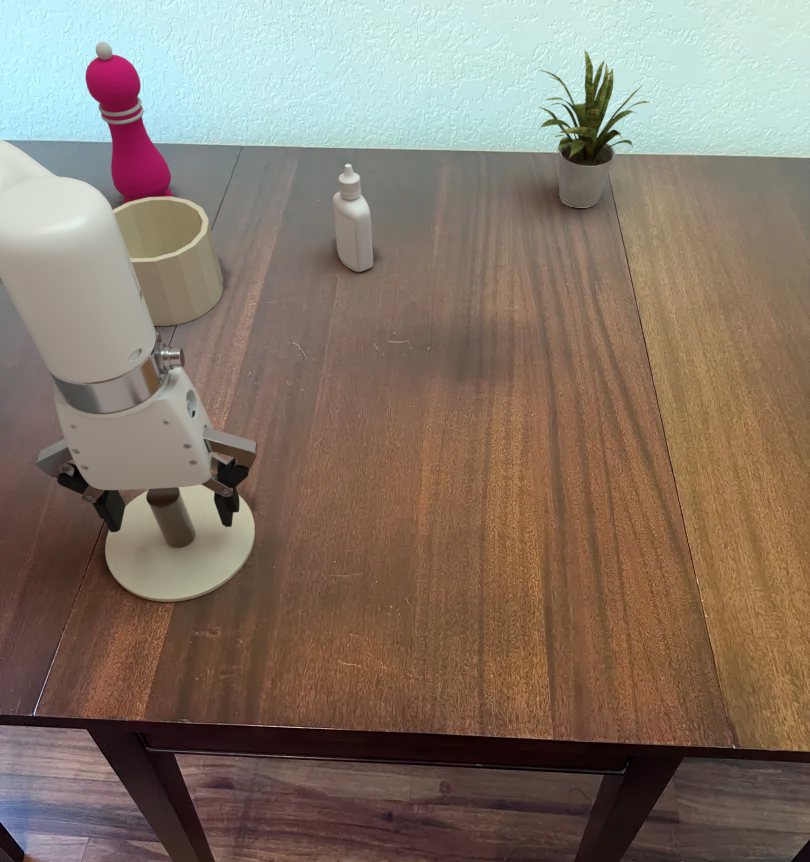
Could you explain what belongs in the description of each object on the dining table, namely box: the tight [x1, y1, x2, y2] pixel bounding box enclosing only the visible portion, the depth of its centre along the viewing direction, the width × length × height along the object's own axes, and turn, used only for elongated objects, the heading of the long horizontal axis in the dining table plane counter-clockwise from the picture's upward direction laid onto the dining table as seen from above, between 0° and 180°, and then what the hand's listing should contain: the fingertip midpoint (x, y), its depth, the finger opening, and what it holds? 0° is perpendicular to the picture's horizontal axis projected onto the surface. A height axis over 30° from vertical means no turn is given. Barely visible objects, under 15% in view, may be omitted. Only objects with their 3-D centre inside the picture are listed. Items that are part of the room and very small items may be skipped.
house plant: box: [537, 50, 651, 207], centre depth 97 cm, size 14×14×16 cm
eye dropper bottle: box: [332, 163, 374, 273], centre depth 91 cm, size 4×6×12 cm
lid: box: [104, 484, 256, 603], centre depth 69 cm, size 13×13×7 cm
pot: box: [112, 196, 224, 327], centre depth 89 cm, size 12×12×8 cm
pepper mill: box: [85, 41, 174, 204], centre depth 95 cm, size 7×7×20 cm
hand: (174, 516), depth 68 cm, fingers open, 9 cm apart
